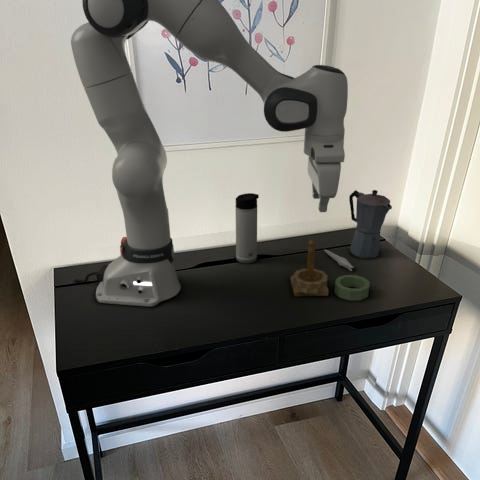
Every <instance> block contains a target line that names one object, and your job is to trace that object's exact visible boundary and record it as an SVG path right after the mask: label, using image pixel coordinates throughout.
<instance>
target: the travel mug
mask: <svg viewBox="0 0 480 480" xmlns="http://www.w3.org/2000/svg"><path fill="white" fill-rule="evenodd" d="M259 198H260V197H259V194H258V193H257V194H256V193H254V192H253V193H252V192H251V193H250V192H248V193H242V194H239V195H237V197H236V198H235V206H234V207H235V260H236V261H237V262H239V263H240V264H252V263H254V262H256V261H257V260H258V199H259Z"/></svg>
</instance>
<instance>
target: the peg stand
mask: <svg viewBox="0 0 480 480" xmlns="http://www.w3.org/2000/svg"><path fill="white" fill-rule="evenodd" d="M315 241H316V240H313V239H311V240H309V241H308V245H307V260H306V261H307V262H306V269H307V273H306V280H304V281H307V282H316V281H313V270H314V269H315V257H316V255H315V254H316V242H315ZM293 276H294V275H290V279H289V280H290V285H291V288H292V292H293V297H327V296H329V292H330V291H329V288H328V286H327V287H326V290H325V291H323V292H320V293H318V294H305V293H302V292H299V291H297V290H296V289H295V288H294V287H293Z"/></svg>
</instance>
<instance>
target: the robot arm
mask: <svg viewBox="0 0 480 480" xmlns="http://www.w3.org/2000/svg"><path fill="white" fill-rule="evenodd" d="M81 3H82V10H83V13H84V16H85V19H86V20H87V22H85V23H83V24H81V25H79V26H78V27H77V28H76V29H75V30H74V31H73V33H72V35H71V38H70V46H71V52H72V55H73V59H74V63H75V66H76V70H77V73H78V75H79V79H80V82H81V84H82V87H83V90H84V92H85V94H86V96H87V99H88V101H89V103H90V106H91V109H92V111H93V114H94V116H95V118H96V121H97V123H98V125H99V126H100V127H101V128H102V130H103V131H104V132H105V133H106V135H107V137H108V138H109V140H110V142H111V143H112V145H113V147H114V149H115V151H116V154H117V156H116V157H115V158H114V161H113V163H112V168H111V169H112V170H111V171H112V172H111V178H112V179H111V180H112V184H113V186H114V188H115V189H116V194H117V197H118V200H119V201H118V202H119V205H120V207H121V210H122V214H123V221H124V227H125V235H126V236H123V237H122V238H121V240H120V246H119V252H120V255H119V256H118V257H117V258H115V259H114V260H113V261H112V262H110V263H109V264H103V266H102V267H100V269H99V270H98V271H91V272H89V273H87V274H86V275H85V277H84V279H78V278H75V279H74V281H75V282H76V283H80V284H85V283H86V282H88V280H89V277H91V276H94V275H95V276H96V281H97V282H99V284H98V285H97V287H96V291H95V298H96V301H97V302H98V303H100V304H110V305H122V306H124V305H125V306H136V307H148V308H149V307H150V308H151V307H155V306H157V305H158V304H159V303H161V302H163V301H166V300H169V299H172V298H174V297H175V296H177V295H178V294H179V293H180V291H181V288H182V286H181V283H180V280H179V279H178V275H177V272H176V268H175V261H174V260H175V248H174V242H173V238H172V237H171V227H170V226H171V225H170V216H169V208H168V206H167V201H166V196H165V191H164V184H163V183H164V181H163V179H164V172H165V170H166V168H167V164H168V157H167V152H166V149H165V146H164V145H163V143H162V141H161V139H160V136H159V134H158V131H157V130H156V128H155V125H154V124H153V122H152V120H151V118H150V116H149V113H148V111H147V109H146V107H145V104H144V102H143V99H142V96H141V93H140V90H139V87H138V85H137V81H136V79H135V76H134V73H133V72H132V68H131V65H130V62H129V60H128V57H127V53H126V49H125V46H126V40H129V39H131V38H132V37H133V36H134V35H135V34H137V33H138V32H139V31H140V30H142V29H143V28H144V27H145V26H147V24H148V23H149V22H154V23H157V24H158V25H160V26H161V27H163V28H164V30H167V32H168V33H169V34H170V35H171V36H172V37H173V38H174V39H175V40H176V41H177V42H178V43H180V44H181V45H182V46H183V47H184V48H185V49H187V50H188V51H189V52H190V53H192V54H194V55H195V56H196V57H198V58H199V59H201V60H203V61H206V62H212V63H216V64H220V65H223V66H225V67H227V68H229V69H230V70H232V71H233V72H235V74H236V75H238V77H240V79H242V80H243V81H244V82H245V83H246V84H247V85H248V86H250V88H251V89H253V90H254V91H255V92H256V93H257V94H258V95H259V97H260V98H261V100H262V103H263V116H264V118H265V121H266V122H267V124H268V126H269V127H271V128H272V129H274V130H276V131H278V132H281V133H282V132H283V133H284V132H285V133H286V132H294V131H299V130H303V129H304V138H303V153H304V154H305V155H306V156H307V157H308V159H307V175H308V176H309V179H310V180H311V188H312V189H311V190H312V191H311V192H312V193H311V195H312V196H311V197H312V199H315V200H316V199H317V200H319V202H318V211H319V213H327V211H328V205H329V202H330V200H331V199H335V198H336V196H337V194H338V189H339V184H340V179H341V171H342V170H341V169H342V163H344V162H345V157H346V153H345V148H344V144H345V134H346V133H345V131H346V130H345V117H346V114H347V112H348V111H347V110H348V99H349V98H348V97H349V85H348V84H349V83H348V77H347V75H346V74H345V72H343V70H341V69H339V68H337V67H334V66H330V65H327V64H326V65H325V64H316V65H315V64H314V65H313V66H312V67H311V68H309V69H308V70H307V71H305V72H304V73H302V74H299V75H298V76H296V77H294V76H291V75H288V74H285V73H282V72H280V71H278V70H277V69H276V68H274V67H273V66H272V65H271V63H269V62H268V61H267V60H266V59H265V58H264V57H263V56H262V55H261V54H260V53H259V52H258V51H257V50H256V49H255V48H254V47H253V46H252V45H251V44H250V43H249V42H248V41H247V39H246V37H245V36H244V35H243V33H242V32H241V30H240V29H239V27H238V25H237V24H236V22H235V20H234V19H233V18H232V16H231V14H230V13H229V12H228V11H227V8H225V7H224V5H223V4H222V3H221V2H220V1H219V0H82V1H81Z"/></svg>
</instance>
